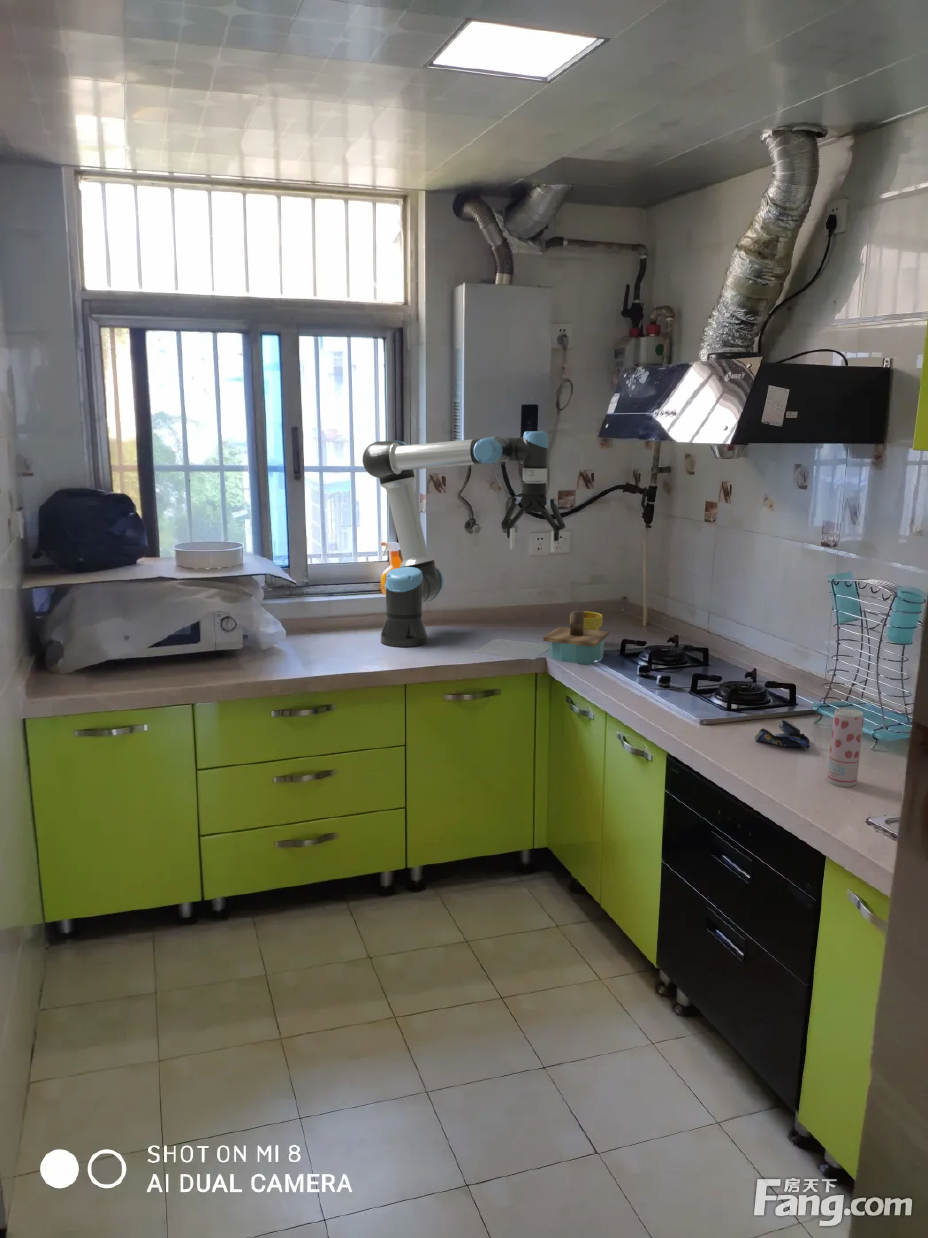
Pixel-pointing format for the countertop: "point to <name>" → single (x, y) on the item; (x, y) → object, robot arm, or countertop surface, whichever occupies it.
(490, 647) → the mat
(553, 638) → the lid
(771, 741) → the snack package
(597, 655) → the bowl
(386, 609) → the robot arm
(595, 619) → the plant pot
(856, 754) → the beverage can
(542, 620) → the countertop surface
